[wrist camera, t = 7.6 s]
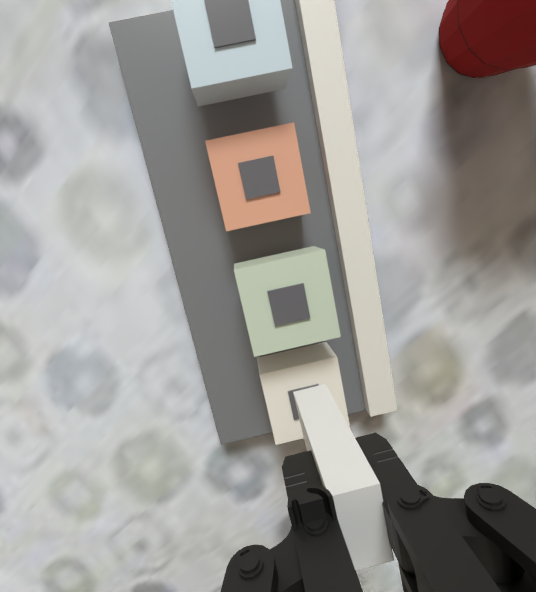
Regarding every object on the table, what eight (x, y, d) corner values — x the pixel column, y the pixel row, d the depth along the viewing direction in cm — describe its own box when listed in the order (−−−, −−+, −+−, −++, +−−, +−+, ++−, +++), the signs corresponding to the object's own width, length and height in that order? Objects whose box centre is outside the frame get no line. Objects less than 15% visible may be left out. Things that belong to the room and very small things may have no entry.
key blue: (284, 89, 21) (292, 67, 18) (197, 106, 21) (190, 87, 18) (266, -11, 20) (271, -52, 17) (174, 6, 20) (163, -32, 17)
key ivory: (338, 405, 28) (350, 428, 25) (271, 421, 28) (276, 446, 25) (326, 341, 27) (337, 357, 24) (256, 357, 27) (259, 375, 24)
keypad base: (381, 391, 30) (397, 410, 27) (221, 429, 30) (220, 452, 27) (318, -1, 25) (329, -31, 22) (119, 38, 24) (102, 13, 21)
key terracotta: (302, 213, 25) (311, 212, 22) (227, 230, 25) (226, 231, 22) (286, 134, 24) (294, 121, 21) (208, 150, 24) (204, 140, 21)
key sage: (328, 322, 24) (341, 337, 21) (251, 340, 24) (254, 357, 21) (313, 246, 23) (325, 249, 20) (234, 263, 23) (233, 270, 20)
